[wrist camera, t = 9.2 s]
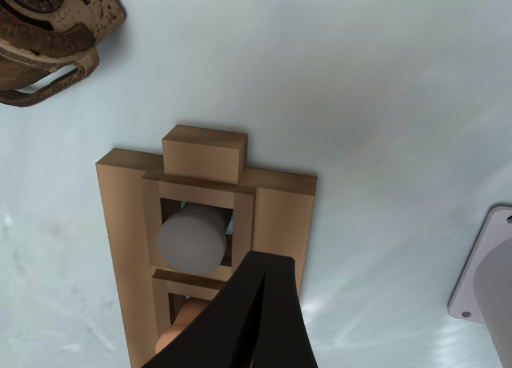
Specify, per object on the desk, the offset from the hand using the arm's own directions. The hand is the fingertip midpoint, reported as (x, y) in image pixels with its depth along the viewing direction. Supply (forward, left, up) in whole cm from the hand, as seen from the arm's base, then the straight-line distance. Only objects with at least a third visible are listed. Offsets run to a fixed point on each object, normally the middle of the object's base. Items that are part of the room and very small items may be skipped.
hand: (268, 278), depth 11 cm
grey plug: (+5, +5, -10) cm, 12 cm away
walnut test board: (+5, +12, -10) cm, 17 cm away
